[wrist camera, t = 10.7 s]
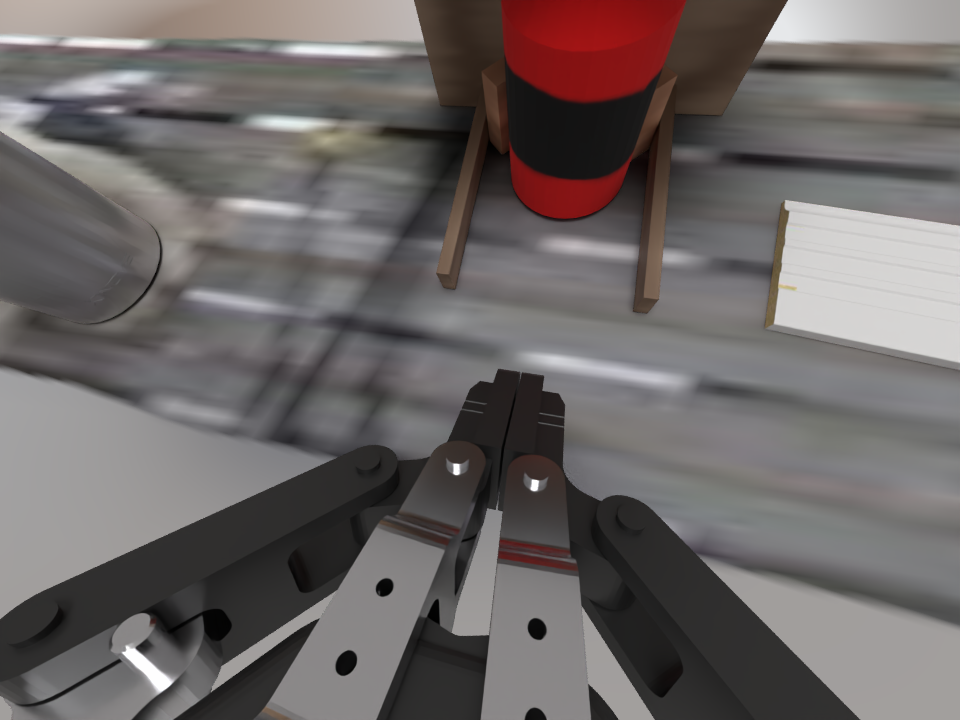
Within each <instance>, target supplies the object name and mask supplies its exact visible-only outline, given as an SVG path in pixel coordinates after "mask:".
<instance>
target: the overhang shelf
mask: <svg viewBox="0 0 960 720" xmlns="http://www.w3.org/2000/svg"><path fill="white" fill-rule="evenodd" d="M787 1H788V0H686V3H685V6H684V9H683V12H682V15H681V18H680V20H679V23H678V26H677V29H676V32H675V35H674V38H673V40H672V43H671V46H670V49H669V52H668V55H667V58H666V60H665V63H664V66H663V69H662V72H661V75H660V78H659V80H658V83H657V86H656V89H655V92H654V95H653V98H652V100H651V103H650V106H649V109H648V112H647V115H646V118H645V120H644V123H643V126H642V129H641V132H640V135H639V138H638V140H637V143H636V146H635V149H634V152H633V155H632V158H631V161H632V160H633V159H635V158H636V157H638V156H639V155H641V154H642V153H644V152H645V151H647V150H648V149H649V147H650V152H649V162H648V172H647V182H646V192H645V202H644V211H643V221H642V231H641V241H640V251H639V261H638V271H637V280H636V290H635V300H634V310H633V311H634V312H642V313H648V312H649V311H650V309H651V308H652V307H653V306H654V305H655V303H656V302H657V301H658V300H659V292H660V280H661V268H662V257H663V245H664V233H665V221H666V209H667V198H668V186H669V174H670V162H671V150H672V139H673V127H674V115H675V114H697V115H722V114H723V113H724V111H725V109H726V107H727V106H728V104H729V102H730V100H731V99H732V97H733V95H734V93H735V92H736V90H737V88H738V86H739V85H740V83H741V81H742V79H743V78H744V76H745V74H746V72H747V71H748V69H749V67H750V65H751V64H752V62H753V60H754V58H755V57H756V55H757V53H758V51H759V50H760V48H761V46H762V44H763V43H764V41H765V39H766V37H767V36H768V34H769V32H770V30H771V29H772V27H773V25H774V23H775V22H776V20H777V18H778V16H779V15H780V13H781V11H782V9H783V8H784V6H785V4H786V2H787ZM414 2H415V6H416V10H417V14H418V18H419V22H420V26H421V30H422V33H423V38H424V42H425V46H426V50H427V54H428V58H429V62H430V66H431V70H432V74H433V78H434V82H435V86H436V90H437V94H438V98H439V102H440V105H448V106H476V110H475V114H474V119H473V123H472V127H471V131H470V135H469V139H468V143H467V148H466V152H465V156H464V160H463V164H462V168H461V172H460V177H459V181H458V185H457V189H456V193H455V197H454V201H453V206H452V210H451V214H450V218H449V222H448V226H447V230H446V235H445V239H444V243H443V247H442V251H441V255H440V259H439V264H438V268H437V272H436V274H437V276H438V278H439V280H440V282H441V284H442V286H443V287H444V288H450V289H455V288H456V283H457V279H458V275H459V270H460V266H461V261H462V257H463V252H464V248H465V244H466V239H467V235H468V230H469V226H470V221H471V217H472V213H473V208H474V204H475V199H476V195H477V190H478V186H479V181H480V177H481V173H482V168H483V164H484V159H485V155H486V150H487V146H488V142H489V138H490V142H491V143H492V144H493V145H494V146H495V147H496V148H497V149H498V151H499V152H500V153H501V154H502V155H503V154H504V153H506V152H507V151H509V150H510V145H509V128H508V111H507V94H506V77H505V59H504V42H503V25H502V8H501V0H414Z"/></svg>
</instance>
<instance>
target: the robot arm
mask: <svg viewBox="0 0 960 720" xmlns="http://www.w3.org/2000/svg"><path fill="white" fill-rule="evenodd" d="M159 257H160V245H159V238H158V236H157V234H156V232H155V230H154V229H153V228H152V226H151V225H150V224H149V223H148V222H146V221H144V220H143V219H141V218H140V217H138V216H136V215H135V214H133V213H131V212H130V211H128V210H127V209H125V208H123V207H122V206H120V205H119V204H117V203H115V202H114V201H112V200H110V199H109V198H107V197H106V196H104V195H102V194H101V193H99V192H98V191H96V190H94V189H93V188H91V187H90V186H88V185H87V184H85V183H83V182H82V181H80V180H79V179H77V178H75V177H74V176H72V175H70V174H69V173H67V172H65V171H64V170H62V169H61V168H59V167H57V166H56V165H54V164H52V163H51V162H49V161H48V160H46V159H44V158H43V157H41V156H39V155H38V154H36V153H35V152H33V151H31V150H30V149H28V148H26V147H25V146H23V145H21V144H20V143H18V142H17V141H15V140H13V139H12V138H10V137H8V136H7V135H5V134H4V133H2V132H0V300H1V301H4V302H8V303H11V304H15V305H18V306H21V307H25V308H28V309H32V310H35V311H38V312H42V313H45V314H49V315H52V316H55V317H59V318H62V319H66V320H69V321H72V322H76V323H84V324H90V323H98V322H101V321H104V320H107V319H110V318H112V317H114V316H116V315H118V314H120V313H121V312H123V311H124V310H126V309H127V308H128V307H129V306H131V305H132V304H133V303H134V302H135V301H136V300H137V299H138V298H139V297H140V296H141V295H142V294H143V293H144V291H145V290H146V288H147V287H148V285H149V284H150V282H151V280H152V278H153V276H154V274H155V272H156V269H157V266H158V262H159ZM543 381H544V376H543V375H537V374H530V373H524V372H522V374H521V379H520V372H517V371H510V370H504V369H498V371H497V374H496V376H495V379H494V382H493V383H489V382H483V381H480V382H478V383H477V384H476V385H475V386H473V387H472V388H471V389H470V391H469V393H468V395H467V398H466V401H465V402H464V404H463V407H462V410H461V411H460V414H459V416H458V418H457V421H456V423H455V425H454V428H453V430H452V432H451V435H450V437H449V439H448V442H447V443H444V444H442V445H440V446H439V447H437V448H436V449H435V450H434V452H433V453H432V455H431V456H430V457H427V458H424V459H417V460H403V461H397V457H396V455H395V453H394V452H393V451H392V450H390V449H389V448H387V447H384V446H380V445H369V446H364V447H360V448H358V449H355V450H353V451H351V452H349V453H347V454H344V455H342V456H340V457H338V458H336V459H333V460H331V461H329V462H327V463H325V464H322V465H320V466H318V467H316V468H314V469H311V470H309V471H307V472H305V473H303V474H300V475H298V476H296V477H294V478H291V479H289V480H287V481H285V482H283V483H281V484H278V485H276V486H274V487H272V488H269V489H267V490H265V491H263V492H261V493H258V494H256V495H254V496H252V497H250V498H247V499H245V500H243V501H241V502H239V503H236V504H234V505H232V506H230V507H228V508H225V509H223V510H221V511H219V512H216V513H214V514H212V515H210V516H208V517H205V518H203V519H201V520H199V521H197V522H195V523H192V524H190V525H188V526H186V527H183V528H181V529H179V530H177V531H175V532H172V533H170V534H168V535H166V536H164V537H161V538H159V539H157V540H155V541H153V542H150V543H148V544H146V545H144V546H141V547H139V548H137V549H135V550H133V551H130V552H128V553H126V554H124V555H122V556H120V557H117V558H115V559H113V560H111V561H108V562H106V563H104V564H102V565H100V566H97V567H95V568H93V569H91V570H88V571H86V572H84V573H82V574H80V575H78V576H75V577H73V578H71V579H69V580H66V581H64V582H62V583H60V584H58V585H55V586H53V587H51V588H49V589H47V590H44V591H42V592H41V593H38V594H36V595H34V596H33V597H31V598H30V599H28V600H26V601H24V602H23V603H21V604H20V605H18V606H17V607H15V608H14V609H13V610H11V611H10V612H9V613H8V614H6V615H5V616H4V617H3V618H1V619H0V696H2V697H3V698H4V700H5V702H6V703H7V704H8V705H9V706H11V709H12V718H11V720H618V718H617V717H616V715H615V714H614V712H613V711H612V710H611V708H610V707H609V706H608V705H607V704H606V702H605V701H604V700H603V699H602V697H601V696H600V695H599V694H598V693H597V692H596V691H595V690H594V689H593V688H592V687H591V686H590V685H589V684H588V678H587V667H586V656H585V655H586V654H585V643H584V632H583V620H582V607H583V608H584V610H585V612H586V613H587V615H588V616H589V618H590V619H591V621H592V622H593V624H594V626H595V627H596V629H597V630H598V632H599V633H600V635H601V637H602V638H603V640H604V641H605V643H606V644H607V646H608V647H609V649H610V651H611V652H612V654H613V655H614V656H615V658H616V660H617V661H618V663H619V664H620V666H621V668H622V669H623V671H624V672H625V674H626V675H627V677H628V679H629V680H630V682H631V683H632V685H633V686H634V688H635V689H636V691H637V693H638V694H639V696H640V697H641V699H642V700H643V702H644V703H645V705H646V707H647V708H648V710H649V711H650V713H651V714H652V716H653V718H654V719H655V720H860V719H859V718H858V717H857V716H856V715H855V714H854V713H853V712H852V711H851V710H850V709H849V708H848V707H847V706H846V705H845V704H844V703H843V702H842V701H841V700H840V699H839V698H838V697H837V696H836V695H835V694H834V693H833V692H832V691H831V690H830V689H829V688H828V687H827V686H826V685H825V684H824V683H823V682H822V681H821V680H820V679H819V678H818V677H817V676H816V675H815V674H814V673H813V672H812V671H811V670H810V669H809V668H808V667H807V666H806V665H805V664H804V663H803V662H802V661H801V660H800V659H799V658H798V657H797V656H796V655H795V654H794V653H793V652H792V651H791V650H790V649H789V648H788V647H787V646H786V644H784V642H782V640H781V639H780V638H779V637H778V636H776V635H775V633H774V632H772V630H771V629H770V628H769V627H768V626H767V625H766V624H765V623H764V622H763V621H762V620H761V619H760V618H759V617H758V616H757V615H756V614H755V613H754V612H753V611H752V610H751V609H750V608H749V607H748V606H747V605H746V604H745V603H744V602H743V601H742V600H741V599H740V598H739V597H738V596H737V595H736V594H735V593H734V592H733V591H732V590H731V589H730V588H729V587H728V586H727V585H726V584H725V583H724V582H723V581H722V580H721V579H720V578H719V577H718V576H717V575H716V574H715V573H714V572H713V571H712V570H711V569H710V568H709V567H708V566H707V565H706V564H705V563H704V562H703V561H702V560H701V559H700V558H699V557H698V556H697V555H696V554H695V553H694V552H693V551H692V550H691V549H690V548H689V547H688V546H687V545H686V544H685V543H684V542H683V541H682V540H681V539H680V538H679V537H678V536H677V535H676V534H675V533H674V532H673V531H672V529H671V528H670V527H669V526H668V525H667V524H666V523H665V522H664V521H663V520H662V519H661V518H660V517H659V516H658V515H657V514H656V513H655V512H654V511H653V510H651V509H650V508H649V507H648V506H647V505H645V504H644V503H642V502H640V501H639V500H636V499H634V498H631V497H628V496H622V495H615V496H610V497H607V498H605V499H604V500H602V501H599V500H597V499H595V498H593V497H591V496H589V495H587V494H585V493H583V492H581V491H580V490H578V489H577V488H576V487H575V486H574V485H572V483H571V482H570V481H569V480H568V478H567V477H566V475H565V473H564V470H563V443H564V416H565V404H564V402H563V400H562V399H561V397H560V395H559V394H558V393H552V392H545V391H542V389H543ZM519 382H520V383H519ZM499 491H500V494H499ZM498 496H499V504H498V510H499V511H503V514H502V523H501V531H500V541H499V549H498V559H497V568H496V577H495V586H494V595H493V605H492V614H491V623H490V632H489V635H486V636H457V635H454V634H453V633H451V632H452V628H453V623H454V618H455V612H456V608H457V605H458V601H459V597H460V594H461V592H462V589H463V585H464V583H465V580H466V576H467V574H468V571H469V567H470V564H471V561H472V558H473V555H474V552H475V549H476V546H477V543H478V540H479V537H480V533H481V528H482V526H483V523H484V519H485V515H486V511H487V508H489V509H494V510H496V505H497V500H498ZM336 590H337V592H336V593H335V595H334V596H333V598H332V600H331V601H330V603H329V605H328V606H327V608H326V609H325V611H324V613H323V614H322V616H321V618H319V619H317V620H315V621H313V622H311V623H310V624H308V625H306V626H304V627H302V628H300V629H299V630H297V631H296V632H294V633H293V634H292V635H290V636H289V637H287V638H286V639H285V640H283V641H282V642H280V643H279V644H278V645H276V646H275V647H274V648H272V649H271V650H269V651H268V652H267V653H265V654H264V655H263V656H261V657H260V658H258V659H257V660H255V661H254V662H253V663H251V664H250V665H249V666H247V667H246V668H244V669H243V670H242V671H240V672H239V673H238V674H236V675H235V676H233V677H232V678H230V679H229V680H228V681H226V682H225V683H224V684H222V685H221V686H219V687H218V688H217V689H215V690H214V691H212V692H211V690H212V686H213V684H214V682H215V681H216V679H217V677H218V674H219V672H220V669H221V666H222V665H224V664H225V663H227V662H228V661H230V660H231V659H233V658H234V657H236V656H238V655H239V654H241V653H242V652H243V651H245V650H247V649H248V648H249V647H251V646H253V645H254V644H256V643H257V642H259V641H260V640H262V639H263V638H265V637H266V636H268V635H269V634H271V633H273V632H274V631H276V630H277V629H279V628H280V627H281V626H283V625H285V624H286V623H288V622H289V621H291V620H292V619H294V618H295V617H297V616H298V615H300V614H301V613H303V612H304V611H305V610H307V609H309V608H310V607H312V606H313V605H315V604H316V603H318V602H319V601H321V600H323V599H324V598H326V597H327V596H329V595H330V594H332V593H333V592H335V591H336ZM581 605H582V607H581Z"/></svg>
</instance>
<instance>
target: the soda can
mask: <svg viewBox="0 0 960 720" xmlns="http://www.w3.org/2000/svg"><path fill="white" fill-rule="evenodd" d="M685 3H686V0H501V8H502V25H503V42H504V59H505V77H506V94H507V111H508V128H509V145H510V163H511V180H512V184H513V187H514V190H515V192H516V194H517V195H518V197H519V198H520V199H521V201H522V202H523V203H524V204H525V205H526V206H528V207H529V208H531V209H532V210H533V211H535V212H538V213H540V214H542V215H545V216H549V217H553V218H563V219H568V218H578V217H582V216H585V215H589V214H591V213H593V212H596V211H598V210H600V209H601V208H602V207H604V206H605V205H607V204H608V203H609V202H610V201H611V200H612V199H613V198H614V197H615V196H616V194H617V193H618V191H619V190H620V188H621V186H622V183H623V180H624V178H625V175H626V172H627V169H628V166H629V163H630V161H631V158H632V155H633V152H634V149H635V146H636V143H637V140H638V138H639V135H640V132H641V129H642V126H643V123H644V120H645V118H646V115H647V112H648V109H649V106H650V103H651V100H652V98H653V95H654V92H655V89H656V86H657V83H658V80H659V78H660V75H661V72H662V69H663V66H664V63H665V60H666V58H667V55H668V52H669V49H670V46H671V43H672V40H673V38H674V35H675V32H676V29H677V26H678V23H679V20H680V18H681V15H682V12H683V9H684V6H685Z"/></svg>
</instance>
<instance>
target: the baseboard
mask: <svg viewBox="0 0 960 720" xmlns="http://www.w3.org/2000/svg"><path fill="white" fill-rule="evenodd" d="M765 329H768V330H773V331H778V332H782V333H787V334H792V335H796V336H801V337H806V338H811V339H815V340H820V341H825V342H829V343H834V344H839V345H843V346H848V347H853V348H858V349H862V350H867V351H872V352H876V353H881V354H886V355H891V356H895V357H900V358H905V359H909V360H914V361H919V362H923V363H928V364H933V365H938V366H942V367H947V368H952V369H956V370H960V226H957V225H950V224H943V223H936V222H930V221H923V220H916V219H909V218H903V217H896V216H889V215H882V214H876V213H869V212H862V211H855V210H849V209H842V208H835V207H829V206H822V205H815V204H808V203H802V202H795V201H788V200H785V201H784V202H783V203H782V204H781V212H780V219H779V226H778V234H777V241H776V249H775V256H774V263H773V271H772V278H771V285H770V293H769V300H768V307H767V315H766V322H765Z"/></svg>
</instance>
